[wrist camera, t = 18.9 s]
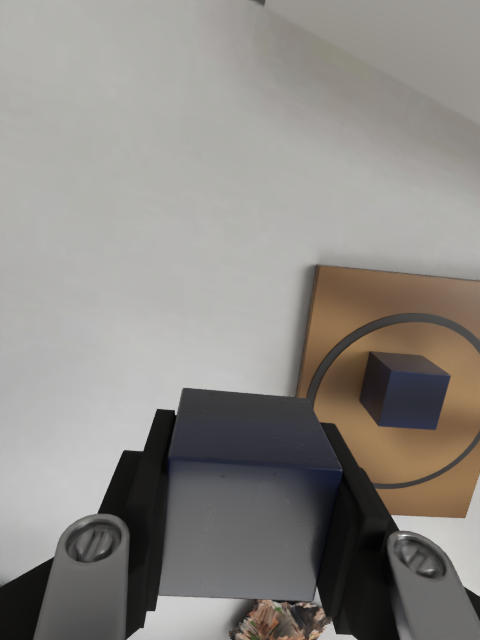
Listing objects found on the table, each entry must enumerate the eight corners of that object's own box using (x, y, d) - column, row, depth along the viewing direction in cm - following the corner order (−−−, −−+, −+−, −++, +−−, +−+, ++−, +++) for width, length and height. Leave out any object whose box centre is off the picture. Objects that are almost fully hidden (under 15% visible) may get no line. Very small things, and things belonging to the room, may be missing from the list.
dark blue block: (182, 386, 11) (167, 456, 8) (308, 397, 12) (344, 469, 8) (173, 494, 12) (156, 597, 9) (289, 502, 13) (314, 603, 9)
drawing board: (316, 264, 26) (320, 266, 25) (531, 285, 27) (542, 288, 26) (278, 502, 31) (280, 512, 30) (459, 511, 32) (466, 520, 31)
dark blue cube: (369, 350, 27) (391, 370, 23) (422, 355, 27) (451, 375, 23) (358, 401, 28) (378, 426, 24) (410, 404, 28) (436, 430, 25)
